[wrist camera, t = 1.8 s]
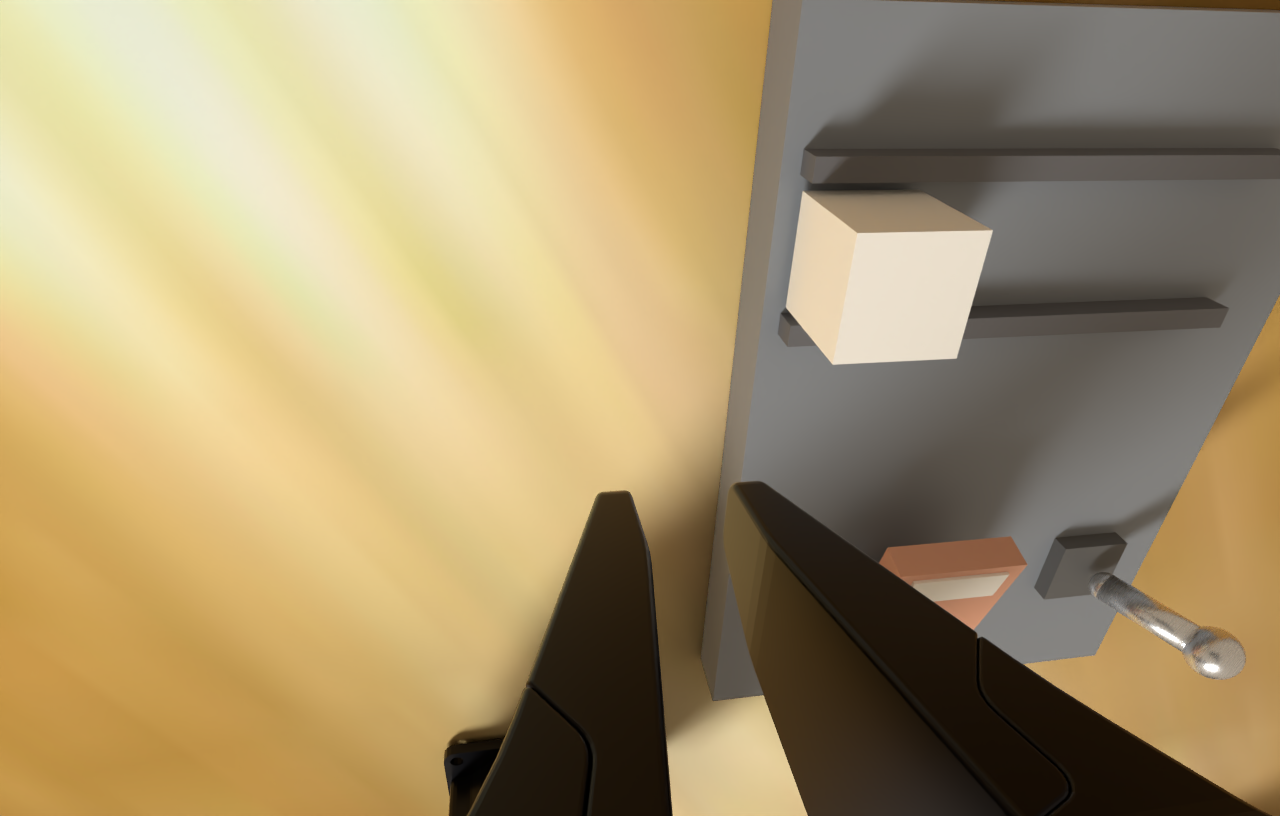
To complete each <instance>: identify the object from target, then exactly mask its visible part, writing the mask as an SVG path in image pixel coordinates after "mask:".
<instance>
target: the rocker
mask: <svg viewBox="0 0 1280 816" xmlns="http://www.w3.org/2000/svg"><path fill="white" fill-rule="evenodd" d="M879 564H881V565H882V566H884V567H885V568H886V569H888V570H889V571H891V572H892V573H894V574H895V575H896V576H898V577H899V578H901V579H902V580H903V581H905V582H906V583H908V584H909V585H911V586H912V587H913V588H915V589H916V590H918V591H919V592H920V593H922V594H923V595H925V596H926V597H927V598H929V599H930V600H932V601H933V602H935V603H936V604H937V605H939V606H940V607H942V608H943V609H944V610H946V611H947V612H949V613H950V614H952V615H953V616H954V617H956V618H957V619H959V620H960V621H961V622H963V623H964V624H966V625H967V626H969V627H970V628H971V629H973V630H974V629H975V628H976V626H977V625H978V624H979V623H980V622H981V620H982V619H983V618H984V617H985V616H986V614H987V613H988V612H989V611H990V610H991V608H992V607H993V606H994V605H995V604H996V602H997V601H998V600H999V599H1000V597H1001V596H1002V595H1003V594H1004V593H1005V591H1006V590H1007V589H1008V588H1009V587H1010V585H1011V584H1012V583H1013V582H1014V581H1015V579H1016V578H1017V577H1018V576H1019V575H1020V573H1021V572H1022V571H1023V570H1024V569H1025V567H1026V566H1027V565H1028V564H1027V563H1026V561H1025V559H1024V558H1023V556H1022V554H1021V552H1020V551H1019V549H1018V547H1017V546H1016V544H1015V542H1014V540H1013V539H1012V537H1011V536H1009V537H998V538H987V539H976V540H965V541H954V542H943V543H931V544H920V545H909V546H898V547H888V548H887V550H886V551H885V553H884V555H883V557H882V558H881V560H880V562H879Z"/></svg>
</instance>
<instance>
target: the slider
mask: <svg viewBox="0 0 1280 816" xmlns="http://www.w3.org/2000/svg"><path fill="white" fill-rule="evenodd" d="M992 232H993V230H992V229H990V228H988V227H986V226H984V225H982V224H981V223H979V222H977V221H975V220H973V219H972V218H970V217H968V216H966V215H964V214H963V213H961V212H959V211H957V210H955V209H954V208H952V207H950V206H948V205H946V204H945V203H943V202H941V201H939V200H937V199H936V198H934V197H932V196H930V195H928V194H927V193H925V192H923V191H921V190H832V191H803V192H802V199H801V206H800V213H799V219H798V226H797V233H796V240H795V247H794V254H793V261H792V268H791V275H790V282H789V288H788V295H787V302H786V308H787V309H788V311H789V312H790V313H791V314H792V316H793V317H794V318H795V319H796V320H797V322H798V323H799V324H800V325H801V327H802V328H803V329H804V330H805V331H806V333H807V334H808V335H809V336H810V338H811V339H812V340H813V341H814V342H815V344H816V345H817V346H818V347H819V349H820V350H821V351H822V352H823V354H824V355H825V356H826V357H827V358H828V360H829V361H830V362H831V363H832V365H837V364H857V363H877V362H897V361H918V360H938V359H957V355H958V352H959V348H960V345H961V341H962V338H963V334H964V331H965V327H966V323H967V320H968V316H969V313H970V309H971V306H972V302H973V299H974V295H975V292H976V288H977V285H978V281H979V278H980V274H981V271H982V267H983V264H984V260H985V257H986V253H987V250H988V246H989V243H990V239H991V236H992Z"/></svg>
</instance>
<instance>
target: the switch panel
mask: <svg viewBox="0 0 1280 816" xmlns="http://www.w3.org/2000/svg"><path fill="white" fill-rule="evenodd" d="M832 190H921V191H923V192H925V193H927V194H928V195H930V196H932V197H934V198H936V199H937V200H939V201H941V202H943V203H945V204H946V205H948V206H950V207H952V208H954V209H955V210H957V211H959V212H961V213H963V214H964V215H966V216H968V217H970V218H972V219H973V220H975V221H977V222H979V223H981V224H982V225H984V226H986V227H988V228H990V229H992V230H993V232H992V236H991V239H990V243H989V246H988V250H987V253H986V257H985V260H984V264H983V267H982V271H981V274H980V278H979V281H978V285H977V288H976V292H975V295H974V299H973V302H972V306H971V309H970V313H969V316H968V320H967V323H966V327H965V331H964V334H963V338H962V341H961V345H960V348H959V352H958V355H957V359H938V360H918V361H897V362H877V363H857V364H837V365H832V363H831V362H830V361H829V360H828V358H827V357H826V356H825V355H824V354H823V352H822V351H821V350H820V349H819V347H818V346H817V345H816V344H815V342H814V341H813V340H812V339H811V338H810V336H809V335H808V334H807V333H806V331H805V330H804V329H803V328H802V327H801V325H800V324H799V323H798V322H797V320H796V319H795V318H794V317H793V316H792V314H791V313H790V312H789V311H788V309H787V308H786V302H787V295H788V288H789V282H790V275H791V268H792V261H793V254H794V247H795V240H796V233H797V226H798V219H799V213H800V206H801V199H802V192H803V191H832ZM1279 295H1280V10H1261V9H1229V8H1198V7H1166V6H1135V5H1103V4H1072V3H1040V2H1009V1H978V0H773V3H772V12H771V21H770V30H769V39H768V48H767V57H766V66H765V76H764V85H763V94H762V103H761V112H760V121H759V130H758V139H757V149H756V158H755V167H754V176H753V185H752V194H751V203H750V212H749V222H748V231H747V240H746V249H745V258H744V267H743V276H742V285H741V295H740V304H739V313H738V322H737V331H736V340H735V349H734V358H733V368H732V377H731V386H730V395H729V404H728V413H727V422H726V431H725V440H724V450H723V459H722V468H721V477H720V486H719V495H718V504H717V513H716V523H715V532H714V541H713V550H712V559H711V568H710V577H709V586H708V596H707V605H706V614H705V623H704V632H703V641H702V650H701V661H702V665H703V668H704V672H705V675H706V679H707V682H708V686H709V689H710V693H711V696H712V700H713V701H718V700H726V699H735V698H743V697H751V696H760V695H764V694H763V692H762V689H761V686H760V683H759V681H758V678H757V675H756V673H755V670H754V667H753V664H752V661H751V658H750V655H749V651H748V647H747V643H746V639H745V635H744V631H743V626H742V622H741V618H740V614H739V610H738V605H737V601H736V597H735V593H734V588H733V584H732V580H731V576H730V572H729V567H728V563H727V559H726V555H725V550H724V543H723V530H724V522H725V513H726V505H727V497H728V491H729V488H730V486H731V485H732V484H733V483H736V482H748V481H762V482H764V483H766V484H768V485H769V486H770V487H772V488H773V489H775V490H776V491H777V492H779V493H780V494H782V495H783V496H785V497H786V498H787V499H789V500H790V501H792V502H793V503H794V504H796V505H797V506H799V507H800V508H801V509H803V510H804V511H806V512H807V513H809V514H810V515H811V516H813V517H814V518H816V519H817V520H818V521H820V522H821V523H823V524H824V525H826V526H827V527H828V528H830V529H831V530H833V531H834V532H835V533H837V534H838V535H840V536H841V537H843V538H844V539H845V540H847V541H848V542H850V543H851V544H852V545H854V546H855V547H857V548H858V549H860V550H861V551H862V552H864V553H865V554H867V555H868V556H869V557H871V558H872V559H874V560H875V561H877V562H878V563H879V562H880V560H881V558H882V557H883V555H884V553H885V551H886V550H887V548H888V547H898V546H909V545H920V544H931V543H943V542H954V541H965V540H976V539H987V538H998V537H1009V536H1011V537H1012V539H1013V540H1014V542H1015V544H1016V546H1017V547H1018V549H1019V551H1020V552H1021V554H1022V556H1023V558H1024V559H1025V561H1026V563H1027V564H1028V565H1027V566H1026V567H1025V569H1024V570H1023V571H1022V572H1021V573H1020V575H1019V576H1018V577H1017V578H1016V579H1015V581H1014V582H1013V583H1012V584H1011V585H1010V587H1009V588H1008V589H1007V590H1006V591H1005V593H1004V594H1003V595H1002V596H1001V597H1000V599H999V600H998V601H997V602H996V604H995V605H994V606H993V607H992V608H991V610H990V611H989V612H988V613H987V614H986V616H985V617H984V618H983V619H982V620H981V622H980V623H979V624H978V625H977V626H976V628H975V629H974V631H976V632H977V635H978V638H979V637H984V638H986V639H987V640H989V641H990V642H992V643H993V644H994V645H996V646H997V647H999V648H1000V649H1001V650H1003V651H1004V652H1006V653H1007V654H1009V655H1010V656H1011V657H1013V658H1014V659H1016V660H1017V661H1019V662H1020V663H1022V664H1026V663H1034V662H1042V661H1051V660H1059V659H1067V658H1076V657H1084V656H1092V655H1095V654H1096V652H1097V650H1098V648H1099V646H1100V644H1101V642H1102V640H1103V638H1104V636H1105V634H1106V632H1107V630H1108V628H1109V627H1110V625H1111V623H1112V621H1113V619H1114V617H1115V615H1116V613H1117V611H1116V610H1114V609H1113V608H1111V607H1109V606H1108V605H1106V604H1105V603H1103V602H1101V601H1100V600H1098V599H1097V598H1095V597H1094V596H1093V595H1092V594H1091V592H1090V590H1089V587H1088V583H1089V580H1090V578H1091V577H1092V576H1093V575H1094V574H1096V573H1099V572H1108V573H1111V574H1113V575H1115V576H1116V577H1118V578H1120V579H1121V580H1123V581H1125V582H1126V583H1128V584H1130V585H1131V584H1132V582H1133V580H1134V578H1135V576H1136V574H1137V572H1138V570H1139V568H1140V566H1141V564H1142V562H1143V560H1144V558H1145V556H1146V554H1147V552H1148V550H1149V549H1150V547H1151V545H1152V543H1153V541H1154V539H1155V537H1156V535H1157V533H1158V531H1159V529H1160V527H1161V525H1162V523H1163V521H1164V519H1165V517H1166V515H1167V513H1168V511H1169V509H1170V508H1171V506H1172V504H1173V502H1174V500H1175V498H1176V496H1177V494H1178V492H1179V490H1180V488H1181V486H1182V484H1183V482H1184V480H1185V478H1186V476H1187V474H1188V472H1189V470H1190V469H1191V467H1192V465H1193V463H1194V461H1195V459H1196V457H1197V455H1198V453H1199V451H1200V449H1201V447H1202V445H1203V443H1204V441H1205V439H1206V437H1207V435H1208V433H1209V431H1210V430H1211V428H1212V426H1213V424H1214V422H1215V420H1216V418H1217V416H1218V414H1219V412H1220V410H1221V408H1222V406H1223V404H1224V402H1225V400H1226V398H1227V396H1228V394H1229V392H1230V391H1231V389H1232V387H1233V385H1234V383H1235V381H1236V379H1237V377H1238V375H1239V373H1240V371H1241V369H1242V367H1243V365H1244V363H1245V361H1246V359H1247V357H1248V355H1249V353H1250V351H1251V350H1252V348H1253V346H1254V344H1255V342H1256V340H1257V338H1258V336H1259V334H1260V332H1261V330H1262V328H1263V326H1264V324H1265V322H1266V320H1267V318H1268V316H1269V314H1270V312H1271V311H1272V309H1273V307H1274V305H1275V303H1276V301H1277V299H1278V297H1279Z"/></svg>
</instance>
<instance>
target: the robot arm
mask: <svg viewBox="0 0 1280 816" xmlns="http://www.w3.org/2000/svg"><path fill="white" fill-rule="evenodd" d="M723 543H724V550H725V555H726V559H727V563H728V567H729V572H730V576H731V580H732V584H733V588H734V593H735V597H736V601H737V605H738V610H739V614H740V618H741V622H742V626H743V631H744V635H745V639H746V643H747V647H748V651H749V655H750V658H751V661H752V664H753V667H754V670H755V673H756V675H757V678H758V681H759V683H760V686H761V689H762V692H763V694H764V697H765V700H766V703H767V705H768V708H769V711H770V713H771V716H772V719H773V722H774V724H775V727H776V730H777V733H778V735H779V738H780V741H781V744H782V746H783V749H784V752H785V754H786V757H787V760H788V763H789V765H790V768H791V771H792V774H793V776H794V779H795V782H796V784H797V787H798V790H799V793H800V795H801V798H802V801H803V804H804V806H805V809H806V812H807V815H808V816H1272V815H1269V814H1267V813H1265V812H1263V811H1261V810H1259V809H1257V808H1255V807H1254V806H1252V805H1250V804H1248V803H1247V802H1245V801H1243V800H1241V799H1239V798H1238V797H1236V796H1234V795H1233V794H1231V793H1229V792H1228V791H1226V790H1224V789H1223V788H1221V787H1219V786H1218V785H1216V784H1214V783H1213V782H1211V781H1209V780H1208V779H1206V778H1204V777H1203V776H1201V775H1199V774H1198V773H1196V772H1194V771H1193V770H1191V769H1190V768H1188V767H1186V766H1185V765H1183V764H1181V763H1180V762H1178V761H1176V760H1175V759H1173V758H1171V757H1170V756H1168V755H1166V754H1165V753H1163V752H1161V751H1160V750H1158V749H1156V748H1155V747H1153V746H1151V745H1150V744H1148V743H1146V742H1145V741H1143V740H1142V739H1140V738H1138V737H1137V736H1135V735H1133V734H1132V733H1130V732H1128V731H1127V730H1125V729H1123V728H1122V727H1120V726H1118V725H1117V724H1115V723H1113V722H1112V721H1110V720H1108V719H1107V718H1105V717H1104V716H1102V715H1100V714H1099V713H1097V712H1096V711H1094V710H1092V709H1091V708H1089V707H1088V706H1086V705H1084V704H1083V703H1081V702H1080V701H1078V700H1076V699H1075V698H1073V697H1072V696H1070V695H1068V694H1067V693H1065V692H1064V691H1062V690H1060V689H1059V688H1057V687H1056V686H1054V685H1053V684H1051V683H1050V682H1048V681H1047V680H1045V679H1044V678H1042V677H1041V676H1039V675H1038V674H1037V673H1035V672H1034V671H1032V670H1031V669H1029V668H1028V667H1026V666H1025V665H1023V664H1022V663H1020V662H1019V661H1017V660H1016V659H1014V658H1013V657H1011V656H1010V655H1009V654H1007V653H1006V652H1004V651H1003V650H1001V649H1000V648H999V647H997V646H996V645H994V644H993V643H992V642H990V641H989V640H987V639H986V638H984V637H979V638H978V635H977V632H976V631H974V630H973V629H971V628H970V627H969V626H967V625H966V624H964V623H963V622H961V621H960V620H959V619H957V618H956V617H954V616H953V615H952V614H950V613H949V612H947V611H946V610H944V609H943V608H942V607H940V606H939V605H937V604H936V603H935V602H933V601H932V600H930V599H929V598H927V597H926V596H925V595H923V594H922V593H920V592H919V591H918V590H916V589H915V588H913V587H912V586H911V585H909V584H908V583H906V582H905V581H903V580H902V579H901V578H899V577H898V576H896V575H895V574H894V573H892V572H891V571H889V570H888V569H886V568H885V567H884V566H882V565H881V564H879V563H878V562H877V561H875V560H874V559H872V558H871V557H869V556H868V555H867V554H865V553H864V552H862V551H861V550H860V549H858V548H857V547H855V546H854V545H852V544H851V543H850V542H848V541H847V540H845V539H844V538H843V537H841V536H840V535H838V534H837V533H835V532H834V531H833V530H831V529H830V528H828V527H827V526H826V525H824V524H823V523H821V522H820V521H818V520H817V519H816V518H814V517H813V516H811V515H810V514H809V513H807V512H806V511H804V510H803V509H801V508H800V507H799V506H797V505H796V504H794V503H793V502H792V501H790V500H789V499H787V498H786V497H785V496H783V495H782V494H780V493H779V492H777V491H776V490H775V489H773V488H772V487H770V486H769V485H768V484H766V483H764V482H762V481H748V482H736V483H733V484H732V485H731V486H730V488H729V491H728V497H727V505H726V513H725V522H724V530H723ZM444 766H445V772H446V778H447V784H448V790H449V795H450V804H449V816H673V814H672V802H671V790H670V778H669V766H668V754H667V742H666V730H665V718H664V706H663V693H662V681H661V669H660V657H659V645H658V633H657V621H656V609H655V597H654V585H653V573H652V563H651V556H650V551H649V547H648V544H647V541H646V538H645V535H644V532H643V528H642V525H641V522H640V519H639V516H638V513H637V510H636V507H635V504H634V501H633V498H632V495H631V494H630V492H628V491H610V492H601V493H599V494H598V495H597V496H596V498H595V501H594V504H593V506H592V509H591V512H590V514H589V517H588V520H587V522H586V525H585V528H584V530H583V533H582V536H581V539H580V541H579V544H578V547H577V549H576V552H575V555H574V557H573V560H572V563H571V565H570V568H569V571H568V573H567V576H566V579H565V581H564V584H563V587H562V589H561V592H560V595H559V597H558V600H557V603H556V605H555V608H554V611H553V613H552V616H551V619H550V621H549V624H548V627H547V629H546V632H545V635H544V637H543V640H542V643H541V645H540V648H539V651H538V654H537V656H536V659H535V662H534V664H533V667H532V670H531V672H530V675H529V678H528V680H527V683H526V688H525V689H524V690H523V692H522V695H521V698H520V700H519V703H518V706H517V708H516V711H515V714H514V716H513V719H512V721H511V724H510V726H509V728H508V731H507V733H506V736H505V738H504V739H498V740H490V741H482V742H474V743H466V744H457V745H453V746H450V747H448V748H447V749H446V750H445V755H444Z"/></svg>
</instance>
